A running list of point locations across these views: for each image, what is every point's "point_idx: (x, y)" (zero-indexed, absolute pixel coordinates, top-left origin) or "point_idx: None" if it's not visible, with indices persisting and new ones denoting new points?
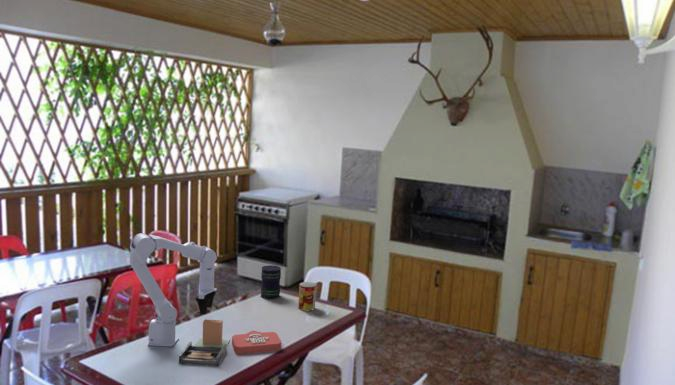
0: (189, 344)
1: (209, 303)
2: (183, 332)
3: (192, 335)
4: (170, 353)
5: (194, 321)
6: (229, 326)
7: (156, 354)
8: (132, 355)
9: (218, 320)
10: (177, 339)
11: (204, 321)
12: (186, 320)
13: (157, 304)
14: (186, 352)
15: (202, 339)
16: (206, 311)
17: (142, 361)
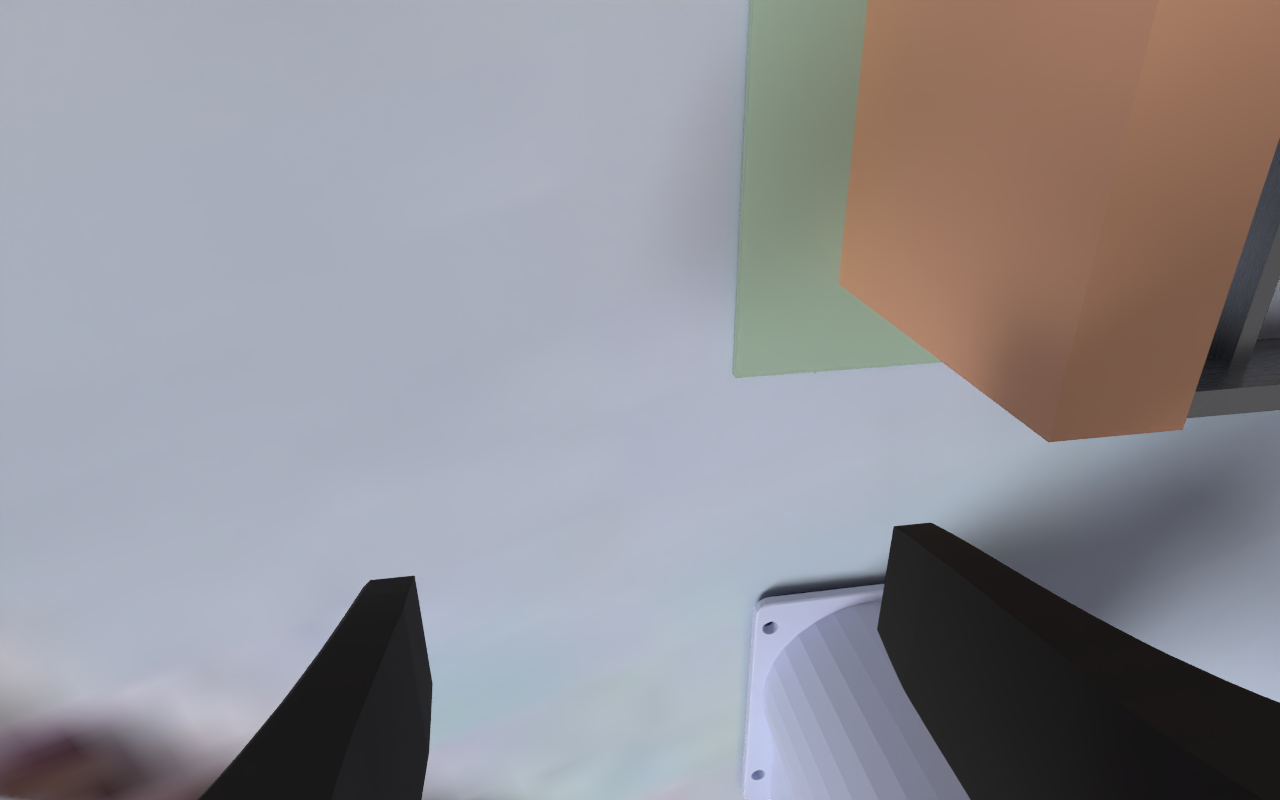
0: (1201, 395)
1: (399, 711)
2: (550, 627)
3: (623, 502)
4: (1123, 520)
5: (123, 660)
6: (60, 63)
7: (1127, 620)
8: None
9: (1156, 91)
10: (815, 598)
11: (1167, 408)
12: (138, 751)
13: None
14: (1277, 361)
15: (770, 332)
16: (953, 551)
17: (1249, 653)
